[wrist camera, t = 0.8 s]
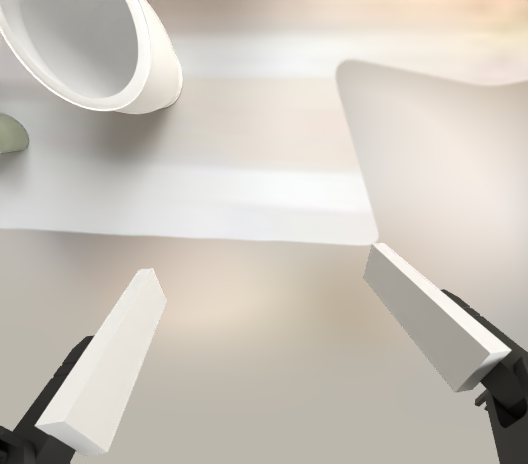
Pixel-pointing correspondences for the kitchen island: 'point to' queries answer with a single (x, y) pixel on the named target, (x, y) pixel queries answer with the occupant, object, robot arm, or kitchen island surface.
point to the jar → (95, 52)
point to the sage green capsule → (12, 135)
